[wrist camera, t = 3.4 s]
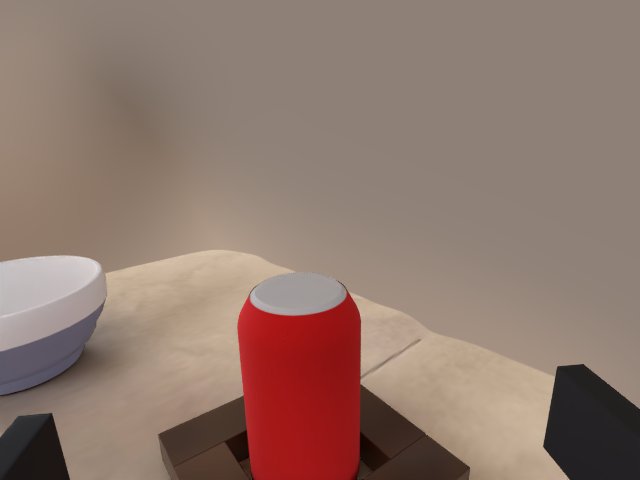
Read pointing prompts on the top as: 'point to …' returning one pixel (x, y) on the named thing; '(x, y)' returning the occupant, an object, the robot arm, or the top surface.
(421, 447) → the holder
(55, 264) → the bowl
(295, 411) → the beverage can
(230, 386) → the top surface
